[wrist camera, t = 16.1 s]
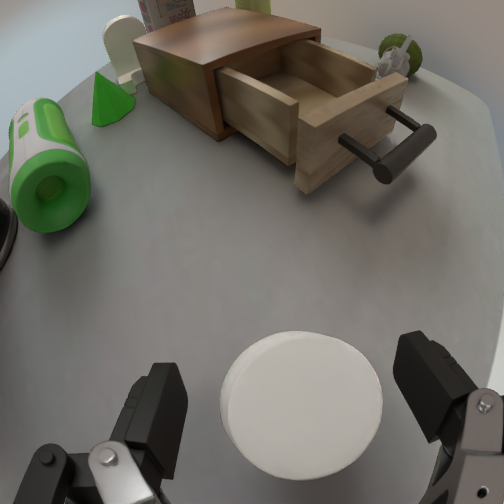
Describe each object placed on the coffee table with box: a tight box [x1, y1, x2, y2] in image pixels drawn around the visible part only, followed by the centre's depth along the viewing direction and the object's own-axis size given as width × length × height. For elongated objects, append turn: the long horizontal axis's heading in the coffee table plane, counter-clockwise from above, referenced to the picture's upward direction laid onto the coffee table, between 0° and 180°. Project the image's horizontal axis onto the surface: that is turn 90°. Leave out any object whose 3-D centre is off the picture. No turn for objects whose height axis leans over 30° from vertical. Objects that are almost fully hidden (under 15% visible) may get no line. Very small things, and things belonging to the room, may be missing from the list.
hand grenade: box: [378, 34, 422, 78], centre depth 25 cm, size 6×6×10 cm
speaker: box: [9, 98, 90, 233], centre depth 20 cm, size 18×7×8 cm, turn 40°
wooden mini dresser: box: [132, 7, 321, 142], centre depth 24 cm, size 15×13×8 cm
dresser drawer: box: [213, 39, 437, 195], centre depth 19 cm, size 18×11×6 cm, turn 40°
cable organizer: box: [103, 15, 147, 95], centre depth 27 cm, size 5×10×10 cm, turn 28°
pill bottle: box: [220, 331, 383, 480], centre depth 10 cm, size 5×5×9 cm
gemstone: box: [92, 72, 136, 127], centre depth 25 cm, size 6×6×6 cm
